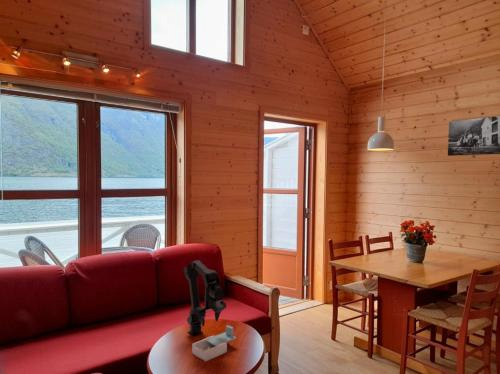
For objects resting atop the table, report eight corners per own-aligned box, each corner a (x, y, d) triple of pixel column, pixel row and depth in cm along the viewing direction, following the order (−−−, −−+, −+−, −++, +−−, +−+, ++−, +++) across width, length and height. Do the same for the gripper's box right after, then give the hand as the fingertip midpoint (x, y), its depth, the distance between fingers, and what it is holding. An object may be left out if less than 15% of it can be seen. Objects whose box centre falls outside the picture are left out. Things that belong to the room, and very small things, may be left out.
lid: (205, 341, 185) (206, 331, 185) (225, 333, 195) (225, 324, 195) (216, 346, 179) (216, 337, 179) (236, 338, 189) (236, 328, 189)
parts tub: (192, 353, 180) (192, 343, 180) (213, 344, 191) (213, 335, 190) (205, 361, 173) (205, 351, 173) (226, 351, 183) (226, 342, 183)
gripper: (206, 303, 176) (205, 333, 177) (233, 294, 190) (232, 323, 190) (192, 297, 184) (192, 327, 185) (219, 289, 197) (219, 317, 198)
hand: (210, 323), depth 189 cm, fingers open, 9 cm apart
